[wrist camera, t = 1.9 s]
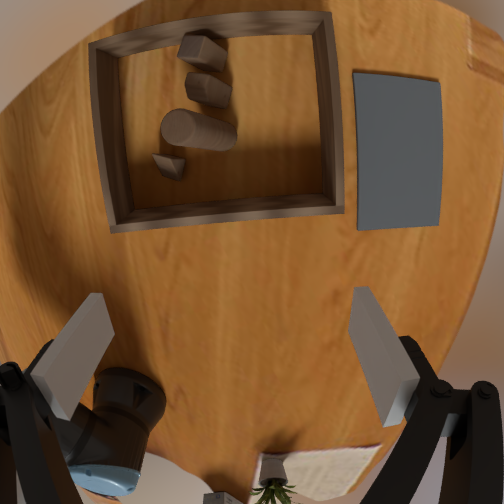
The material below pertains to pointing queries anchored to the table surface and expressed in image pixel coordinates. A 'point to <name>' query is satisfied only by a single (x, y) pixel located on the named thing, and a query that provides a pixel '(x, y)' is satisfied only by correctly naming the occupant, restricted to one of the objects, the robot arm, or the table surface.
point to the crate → (129, 219)
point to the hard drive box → (220, 498)
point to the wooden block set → (202, 91)
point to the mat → (398, 151)
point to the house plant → (273, 482)
